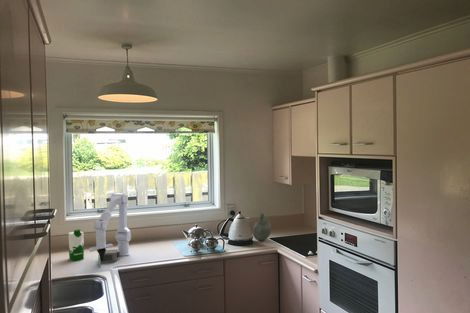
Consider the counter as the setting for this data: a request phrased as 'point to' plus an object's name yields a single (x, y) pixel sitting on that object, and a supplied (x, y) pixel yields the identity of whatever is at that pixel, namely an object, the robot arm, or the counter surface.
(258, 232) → the flask
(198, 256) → the counter surface
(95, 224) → the robot arm
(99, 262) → the side door
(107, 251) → the camera body
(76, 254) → the milk carton
